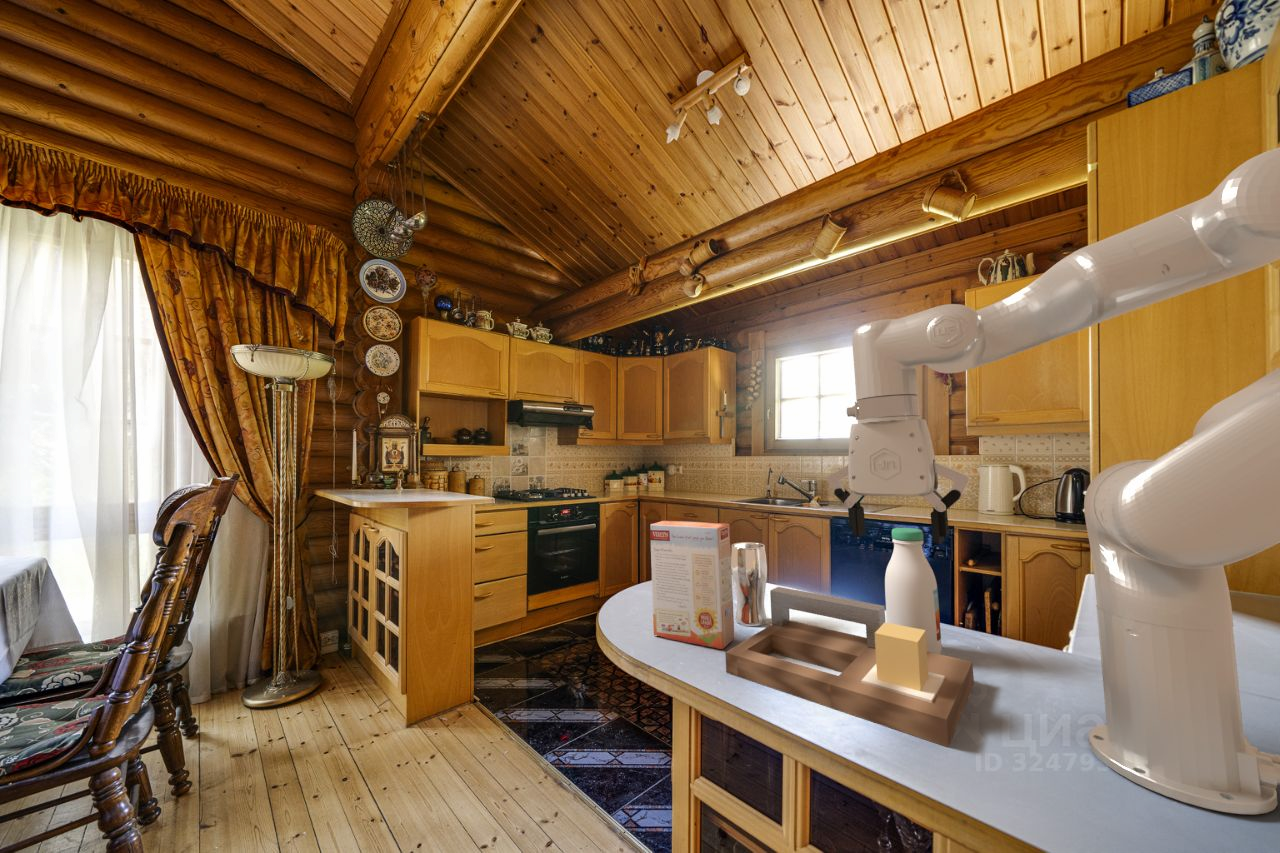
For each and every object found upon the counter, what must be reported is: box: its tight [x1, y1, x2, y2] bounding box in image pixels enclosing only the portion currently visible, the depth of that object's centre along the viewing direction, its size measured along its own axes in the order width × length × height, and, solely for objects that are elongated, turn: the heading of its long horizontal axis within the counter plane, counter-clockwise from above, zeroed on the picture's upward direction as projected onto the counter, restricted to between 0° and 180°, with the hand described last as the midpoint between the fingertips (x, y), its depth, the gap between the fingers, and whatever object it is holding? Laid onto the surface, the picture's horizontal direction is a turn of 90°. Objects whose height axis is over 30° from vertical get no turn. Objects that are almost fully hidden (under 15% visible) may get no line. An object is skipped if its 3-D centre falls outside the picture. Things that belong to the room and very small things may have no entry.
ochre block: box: [875, 621, 929, 691], centre depth 62 cm, size 5×5×6 cm
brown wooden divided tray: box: [725, 620, 975, 748], centre depth 70 cm, size 29×19×3 cm, turn 48°
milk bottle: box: [884, 527, 942, 655], centre depth 79 cm, size 8×8×20 cm
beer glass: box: [731, 541, 768, 627], centre depth 94 cm, size 7×7×15 cm
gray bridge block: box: [769, 586, 886, 648], centre depth 79 cm, size 18×3×6 cm, turn 48°
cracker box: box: [650, 520, 735, 650], centre depth 87 cm, size 14×6×21 cm, turn 58°
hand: (897, 538), depth 63 cm, fingers open, 9 cm apart
